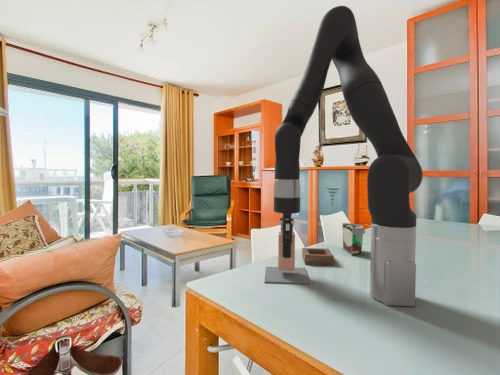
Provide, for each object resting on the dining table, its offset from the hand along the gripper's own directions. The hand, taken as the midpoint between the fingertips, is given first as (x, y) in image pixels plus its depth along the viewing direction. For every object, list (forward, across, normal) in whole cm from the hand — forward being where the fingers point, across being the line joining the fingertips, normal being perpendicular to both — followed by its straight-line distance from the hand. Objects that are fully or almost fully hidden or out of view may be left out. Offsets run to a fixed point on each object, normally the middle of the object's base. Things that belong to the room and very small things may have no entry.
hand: (286, 254), depth 77 cm
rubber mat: (+6, 0, 0) cm, 6 cm away
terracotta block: (+4, 0, 0) cm, 4 cm away
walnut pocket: (+6, +15, -11) cm, 19 cm away
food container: (+6, +27, -27) cm, 38 cm away
